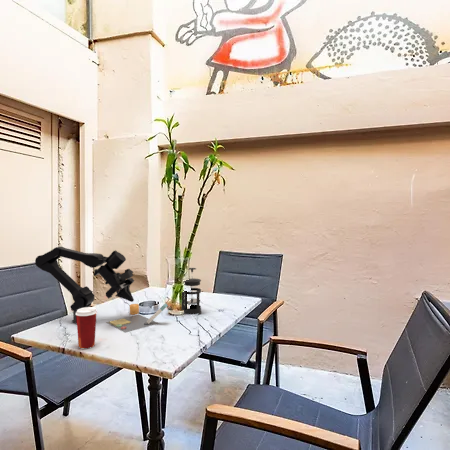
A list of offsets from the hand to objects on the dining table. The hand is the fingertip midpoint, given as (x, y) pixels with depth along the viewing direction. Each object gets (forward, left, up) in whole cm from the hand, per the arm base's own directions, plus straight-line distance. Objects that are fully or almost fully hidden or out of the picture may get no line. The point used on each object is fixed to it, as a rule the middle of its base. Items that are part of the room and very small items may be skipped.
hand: (133, 301), depth 154 cm
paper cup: (-25, -10, -11) cm, 30 cm away
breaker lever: (+4, -5, -10) cm, 12 cm away
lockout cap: (+8, +12, -11) cm, 18 cm away
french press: (+30, -5, -11) cm, 32 cm away
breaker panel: (0, 0, -11) cm, 11 cm away
